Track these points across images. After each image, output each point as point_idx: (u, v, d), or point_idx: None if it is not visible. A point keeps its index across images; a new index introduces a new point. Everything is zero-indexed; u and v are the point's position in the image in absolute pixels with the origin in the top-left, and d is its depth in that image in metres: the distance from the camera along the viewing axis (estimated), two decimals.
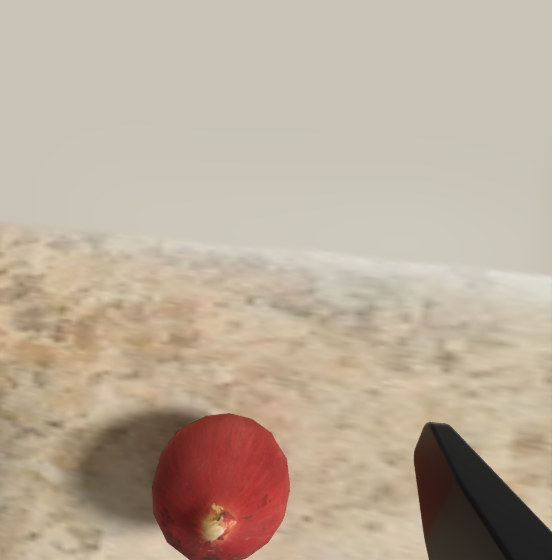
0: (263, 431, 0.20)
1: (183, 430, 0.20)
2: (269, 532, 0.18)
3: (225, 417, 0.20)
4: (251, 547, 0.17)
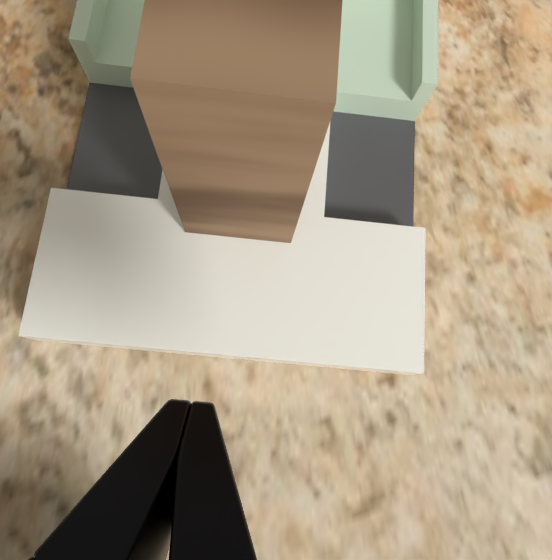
0: None
1: None
2: None
3: None
4: None
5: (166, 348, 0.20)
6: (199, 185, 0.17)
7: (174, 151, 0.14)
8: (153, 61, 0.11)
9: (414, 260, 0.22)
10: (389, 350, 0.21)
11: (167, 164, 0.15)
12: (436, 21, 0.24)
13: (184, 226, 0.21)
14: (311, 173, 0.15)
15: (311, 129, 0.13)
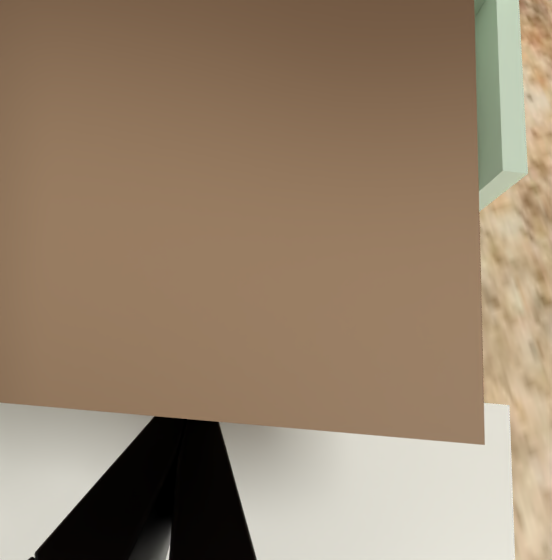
0: None
1: None
2: None
3: None
4: None
5: None
6: None
7: None
8: None
9: (494, 463, 0.14)
10: None
11: None
12: (519, 71, 0.15)
13: None
14: None
15: None
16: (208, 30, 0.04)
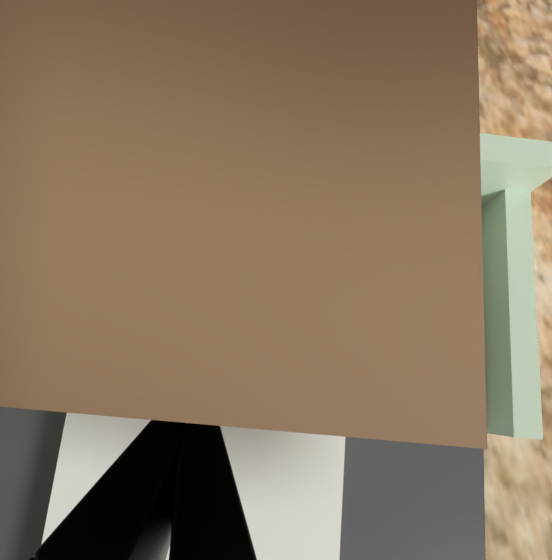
0: None
1: None
2: None
3: None
4: None
5: None
6: None
7: None
8: None
9: None
10: None
11: None
12: (533, 303, 0.13)
13: None
14: None
15: None
16: (205, 24, 0.04)
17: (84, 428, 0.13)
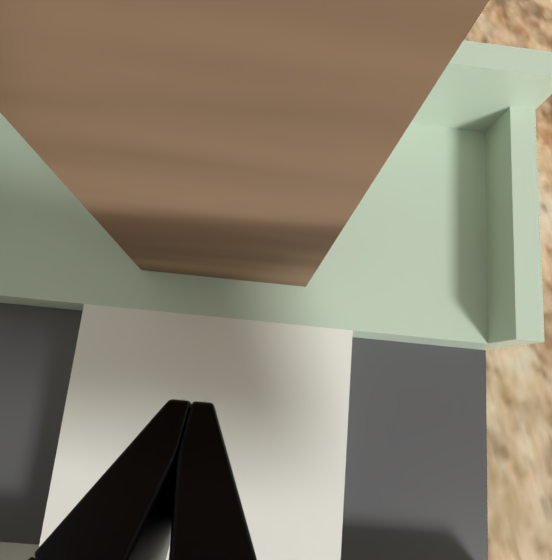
0: None
1: None
2: None
3: None
4: None
5: None
6: (141, 208, 0.09)
7: (67, 144, 0.07)
8: None
9: None
10: None
11: (66, 171, 0.07)
12: (536, 214, 0.14)
13: (137, 263, 0.13)
14: (363, 190, 0.07)
15: (390, 86, 0.05)
16: None
17: (98, 334, 0.13)
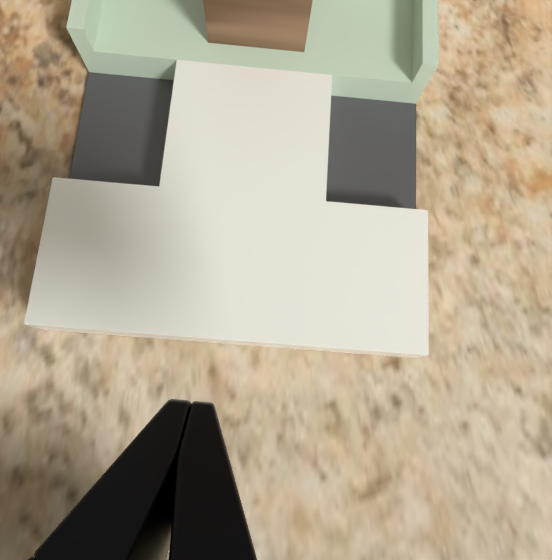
0: None
1: None
2: None
3: None
4: None
5: (170, 334, 0.21)
6: None
7: None
8: None
9: (417, 243, 0.22)
10: (393, 333, 0.21)
11: None
12: (436, 1, 0.24)
13: (208, 31, 0.23)
14: None
15: None
16: None
17: (186, 75, 0.24)
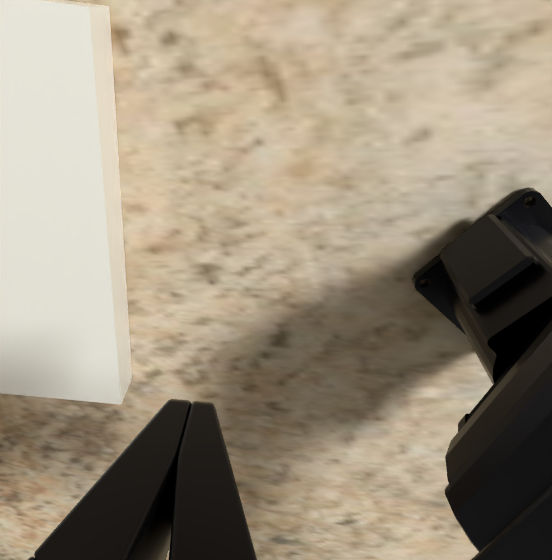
0: None
1: None
2: None
3: None
4: None
5: (112, 303, 0.21)
6: None
7: None
8: None
9: None
10: (67, 58, 0.16)
11: None
12: None
13: None
14: None
15: None
16: None
17: None
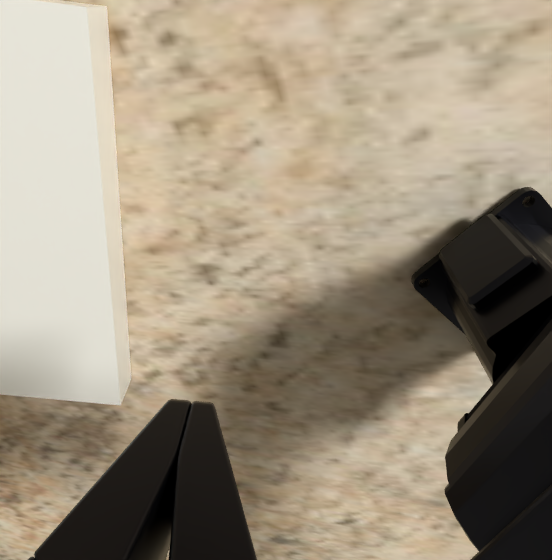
0: None
1: None
2: None
3: None
4: None
5: (111, 303, 0.21)
6: None
7: None
8: None
9: None
10: (65, 58, 0.16)
11: None
12: None
13: None
14: None
15: None
16: None
17: None
